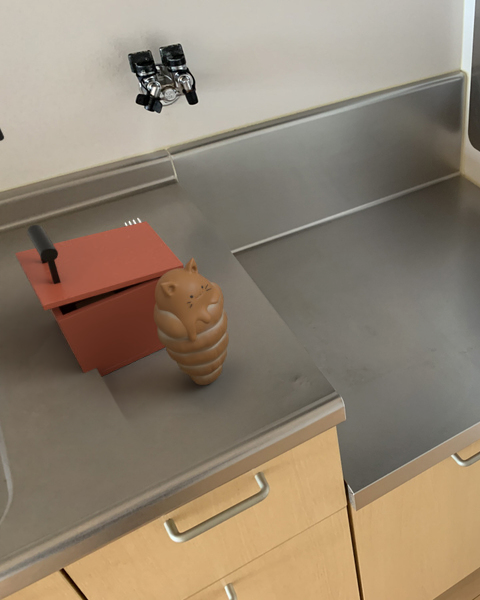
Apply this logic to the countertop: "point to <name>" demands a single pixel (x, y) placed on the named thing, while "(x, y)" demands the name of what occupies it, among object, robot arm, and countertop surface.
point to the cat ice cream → (192, 322)
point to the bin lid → (93, 263)
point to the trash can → (112, 328)
